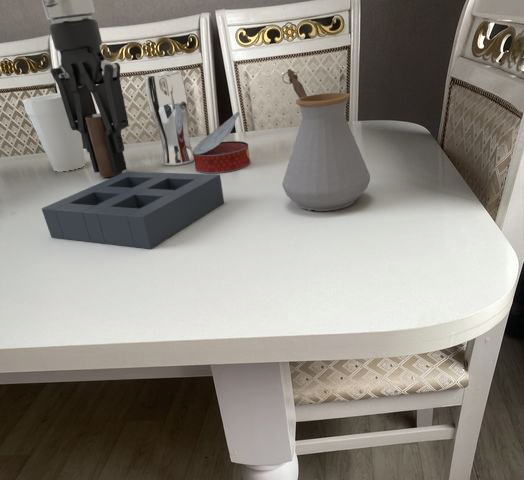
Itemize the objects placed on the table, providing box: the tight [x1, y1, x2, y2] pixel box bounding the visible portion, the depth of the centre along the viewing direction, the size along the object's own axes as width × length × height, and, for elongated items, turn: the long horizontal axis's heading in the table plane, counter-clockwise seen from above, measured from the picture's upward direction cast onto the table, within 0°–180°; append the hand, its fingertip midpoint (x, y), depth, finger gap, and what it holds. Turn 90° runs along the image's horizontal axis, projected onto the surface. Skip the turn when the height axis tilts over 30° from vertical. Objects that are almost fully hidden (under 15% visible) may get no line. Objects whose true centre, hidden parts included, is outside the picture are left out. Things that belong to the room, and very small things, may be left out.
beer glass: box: [143, 69, 194, 167], centre depth 96 cm, size 7×7×15 cm
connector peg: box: [85, 112, 123, 178], centre depth 93 cm, size 4×4×10 cm
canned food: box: [192, 111, 251, 174], centre depth 92 cm, size 11×10×10 cm
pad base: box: [41, 170, 225, 250], centre depth 72 cm, size 17×17×4 cm
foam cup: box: [22, 92, 86, 173], centre depth 102 cm, size 10×9×13 cm
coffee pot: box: [281, 68, 371, 212], centre depth 71 cm, size 21×12×15 cm, turn 12°
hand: (110, 170), depth 96 cm, fingers closed on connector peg, 4 cm apart
